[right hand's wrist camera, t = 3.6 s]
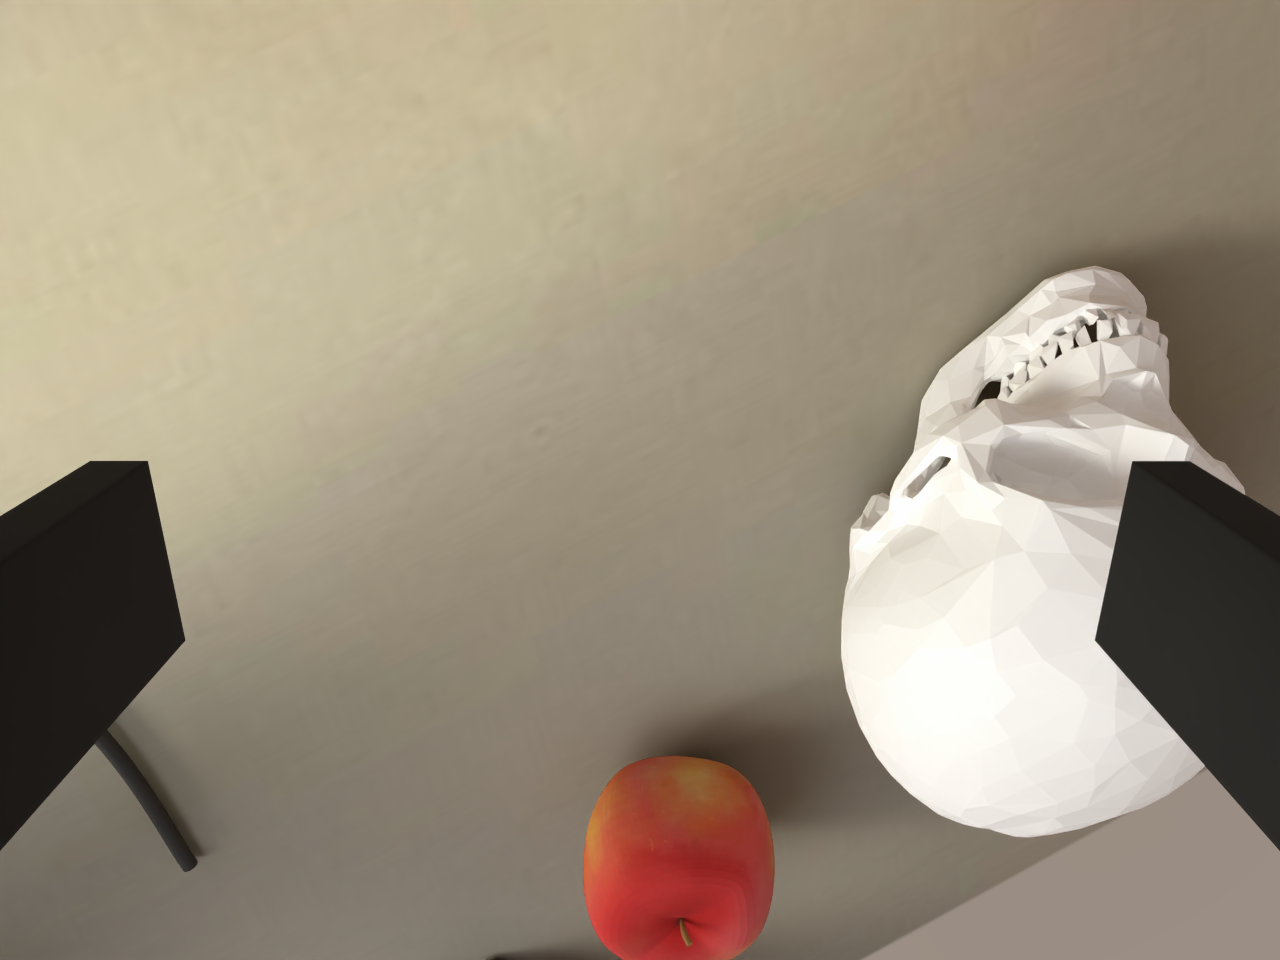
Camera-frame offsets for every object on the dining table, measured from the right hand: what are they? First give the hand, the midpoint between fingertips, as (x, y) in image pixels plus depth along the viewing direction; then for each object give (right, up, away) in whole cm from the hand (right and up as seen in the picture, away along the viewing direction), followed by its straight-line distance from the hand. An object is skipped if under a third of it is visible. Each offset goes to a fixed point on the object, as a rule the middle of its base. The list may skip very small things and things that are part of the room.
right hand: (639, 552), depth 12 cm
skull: (+16, 0, +30) cm, 34 cm away
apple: (+2, -15, +37) cm, 40 cm away
